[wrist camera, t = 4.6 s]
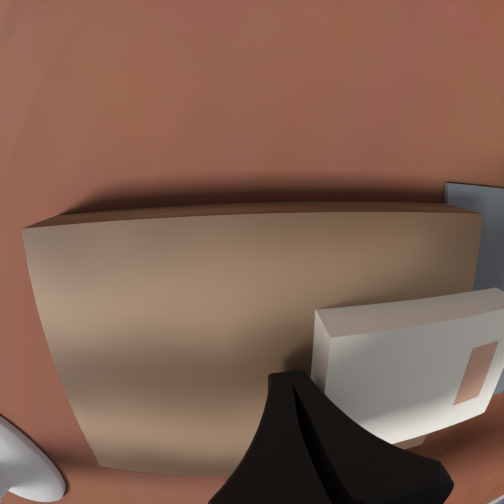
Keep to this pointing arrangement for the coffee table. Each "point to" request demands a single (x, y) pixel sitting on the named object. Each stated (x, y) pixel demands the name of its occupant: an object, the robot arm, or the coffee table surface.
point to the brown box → (219, 310)
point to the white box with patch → (411, 361)
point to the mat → (484, 236)
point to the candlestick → (26, 468)
